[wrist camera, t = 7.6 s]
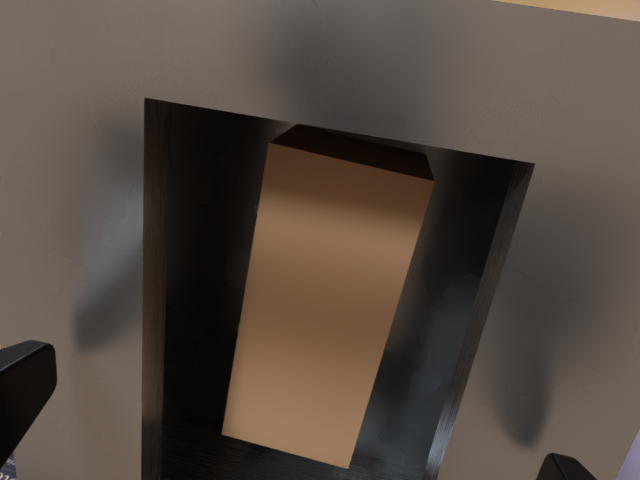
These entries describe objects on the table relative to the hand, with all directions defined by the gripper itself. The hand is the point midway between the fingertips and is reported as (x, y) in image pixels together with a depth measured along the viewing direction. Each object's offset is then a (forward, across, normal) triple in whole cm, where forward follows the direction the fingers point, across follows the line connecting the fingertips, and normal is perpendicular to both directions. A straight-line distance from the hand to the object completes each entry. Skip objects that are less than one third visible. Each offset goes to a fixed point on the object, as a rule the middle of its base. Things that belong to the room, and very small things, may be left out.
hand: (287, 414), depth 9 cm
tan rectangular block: (+6, 0, 0) cm, 6 cm away
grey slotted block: (+6, 0, 0) cm, 6 cm away
